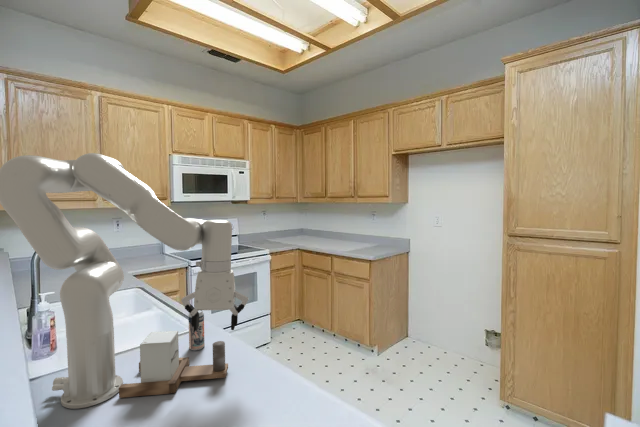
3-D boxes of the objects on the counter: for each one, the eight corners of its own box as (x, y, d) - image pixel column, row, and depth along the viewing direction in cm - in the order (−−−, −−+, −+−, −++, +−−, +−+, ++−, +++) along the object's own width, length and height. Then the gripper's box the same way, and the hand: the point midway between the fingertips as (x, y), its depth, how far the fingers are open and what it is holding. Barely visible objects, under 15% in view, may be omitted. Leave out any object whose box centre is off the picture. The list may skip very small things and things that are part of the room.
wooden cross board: (119, 397, 77) (117, 362, 77) (141, 369, 90) (140, 338, 90) (223, 388, 81) (222, 355, 80) (230, 362, 93) (229, 333, 93)
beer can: (192, 353, 100) (191, 315, 99) (186, 347, 103) (185, 311, 103) (207, 348, 103) (206, 311, 102) (201, 343, 107) (200, 307, 106)
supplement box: (171, 391, 80) (169, 342, 80) (140, 393, 79) (138, 344, 79) (180, 374, 88) (179, 330, 87) (151, 376, 87) (150, 331, 86)
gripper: (178, 268, 80) (176, 335, 81) (248, 269, 83) (246, 333, 83) (186, 262, 88) (185, 323, 88) (250, 263, 90) (248, 322, 91)
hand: (214, 328), depth 86 cm, fingers open, 9 cm apart
